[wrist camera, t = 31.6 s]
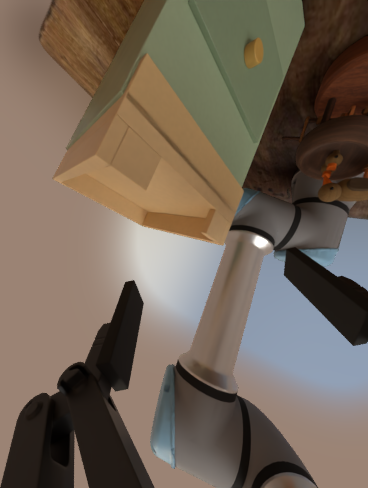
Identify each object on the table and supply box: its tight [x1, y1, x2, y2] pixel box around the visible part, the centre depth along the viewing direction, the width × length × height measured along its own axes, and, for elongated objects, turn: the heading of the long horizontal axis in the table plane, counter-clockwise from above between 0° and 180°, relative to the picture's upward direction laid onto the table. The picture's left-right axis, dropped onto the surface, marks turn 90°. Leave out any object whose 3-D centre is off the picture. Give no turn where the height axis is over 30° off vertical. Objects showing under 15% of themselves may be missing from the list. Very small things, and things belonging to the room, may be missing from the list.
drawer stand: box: [53, 0, 305, 245], centre depth 21 cm, size 14×18×30 cm
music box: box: [282, 35, 368, 202], centre depth 24 cm, size 15×11×20 cm
